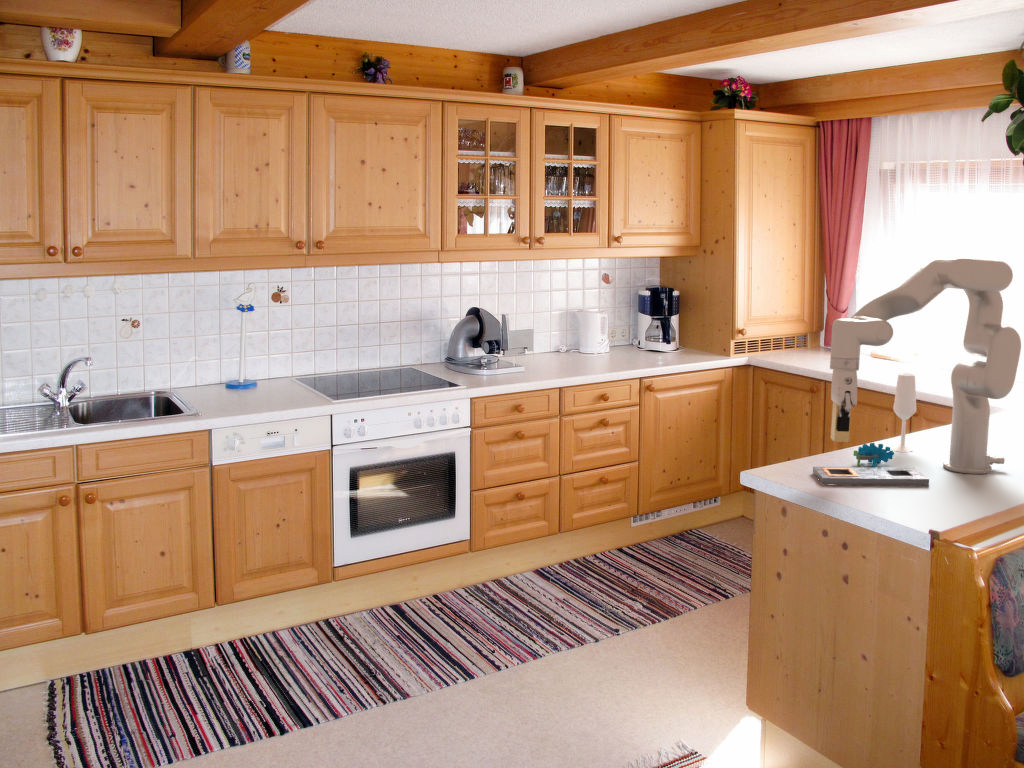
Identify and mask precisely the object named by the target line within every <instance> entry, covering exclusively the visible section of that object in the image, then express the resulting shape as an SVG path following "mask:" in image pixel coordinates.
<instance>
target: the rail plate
mask: <svg viewBox="0 0 1024 768" xmlns="http://www.w3.org/2000/svg"><path fill="white" fill-rule="evenodd" d="M812 475H815V476H816V477H817V478H818V479H819V480H818V479H817V478H816V477H815V476H814V477H815V478H816V479H817V480H818V482H819V483H820V482H821V483H822V484H837V485H836V486H858V485H862V486H863V487H865V486H866V487H868V486H870V487H871V486H872V487H873V486H874V487H880V486H882V487H929V486H930V478H928V477H927V476H926V475H925V474H923V473H922V472H921V471H919V470H918V469H916V468H915V467H883V466H882V467H881V466H880V467H877V466H876V467H872V466H871V467H866V466H865V467H864V466H863V467H861V466H856V467H855V466H812ZM821 483H820V484H821ZM822 484H821V485H822Z"/></svg>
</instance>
